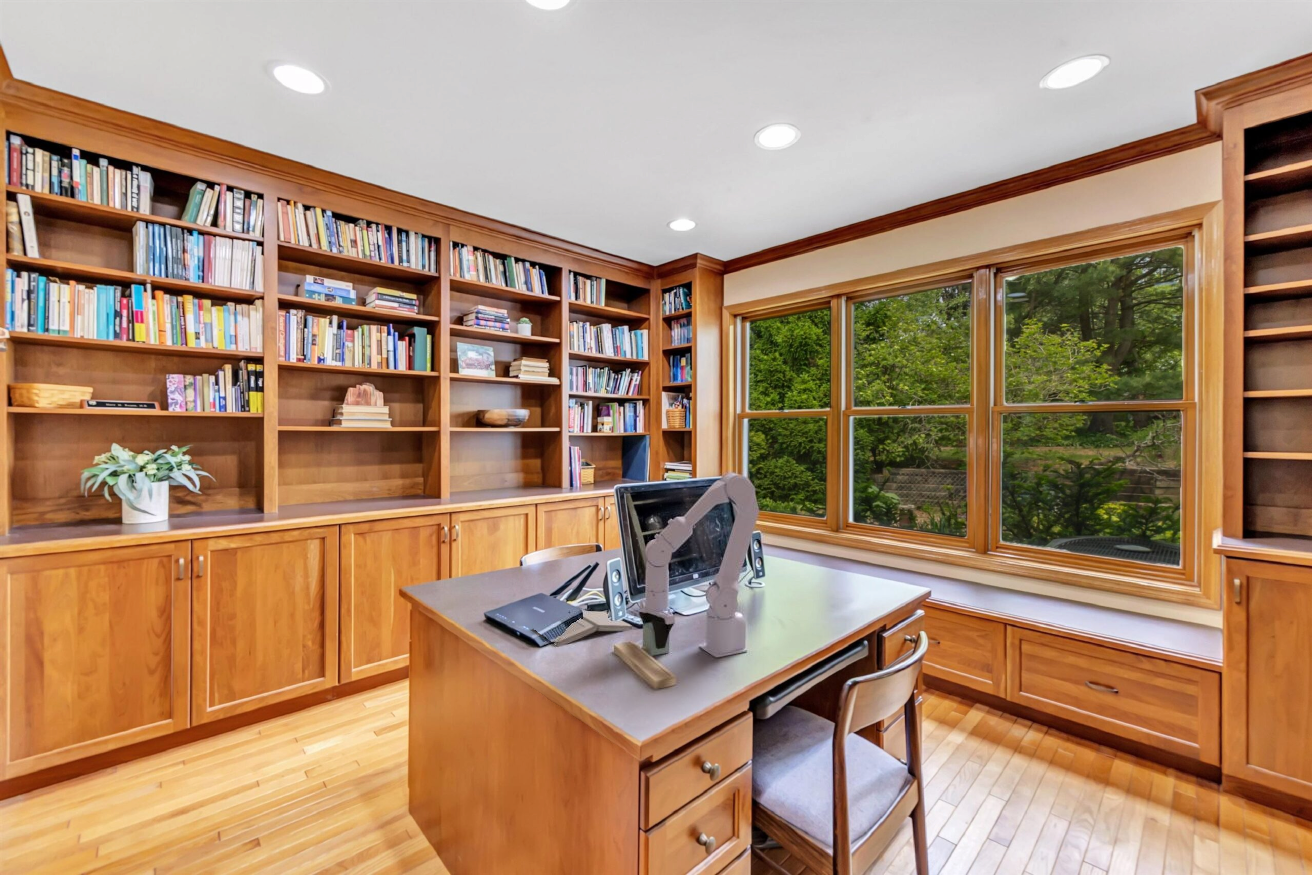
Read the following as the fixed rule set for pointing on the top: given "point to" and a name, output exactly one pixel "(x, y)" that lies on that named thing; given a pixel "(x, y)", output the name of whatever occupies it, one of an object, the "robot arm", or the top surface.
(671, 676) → the plank
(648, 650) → the green box with tab
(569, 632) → the gadget
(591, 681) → the top surface
